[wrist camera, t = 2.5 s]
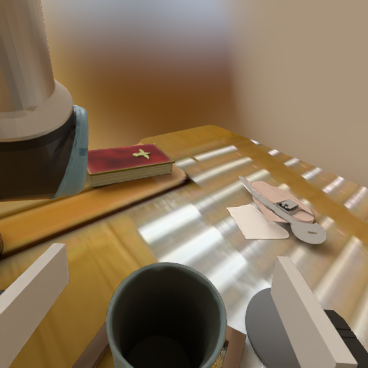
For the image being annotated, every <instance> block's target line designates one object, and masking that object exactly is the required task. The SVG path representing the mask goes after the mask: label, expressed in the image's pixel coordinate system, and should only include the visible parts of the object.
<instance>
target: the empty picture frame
mask: <svg viewBox="0 0 368 368" xmlns="http://www.w3.org/2000/svg"><path fill="white" fill-rule="evenodd" d="M245 340H246V334H243V333H241V332H239V331H237V330H235V329H233V328H231V327H229V326H227V328H226V336H225V342H224V345H225V346H227V349H226V353H225V356H224V360H223V364H222V368H240V363H241V359H242V354H243V349H244V344H245ZM109 347H110V345H109V341H108V338H107V331H106V322H105V323H104V325H103V326H102V327H101V329H100V330H99V331H98V333H97V334H96V335H95V337H94V338H93V339H92V341H91V342H90V344H89V345H88V346H87V348H86V349H85V350H84V352H83V353H82V354H81V356H80V357H79V358H78V360H77V361H76V363H75V364H74V365H73V367H72V368H96V366H97V365H98V363H99V362H100V360H101V359H102V357H103V356H104V354H105V353H106V351H107V350H108V348H109Z"/></svg>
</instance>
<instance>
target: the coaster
mask: <svg viewBox="0 0 368 368" xmlns="http://www.w3.org/2000/svg"><path fill="white" fill-rule="evenodd" d="M270 292H271V288H267V289H264V290H262V291H260V292H258V293H257V294H256V295H255V296H254V297H253V298H252V299H251V301H250V303H249V305H248V307H247V311H246V316H245V323H246V330H247V334H248V337H249V340H250V343H251V345H252V347H253V349H254V351H255V352H256V354H257V356H258V357H259V359H260V360H261V361H262V363H263V364H264V365H265V366H266V367H267V368H301V366H300V364H299V361H298V359H297V357H296V354H295V352H294V349H293V347H292V344H291V342H290V340H289V337H288V335H287V332H286V330H285V328H284V325H283V323H282V320H281V318H280V315H279V313H278V311H277V308H276V306H275V303H274V301H273V298H272V296H271V294H270Z"/></svg>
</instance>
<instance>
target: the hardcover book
mask: <svg viewBox="0 0 368 368" xmlns="http://www.w3.org/2000/svg"><path fill="white" fill-rule="evenodd" d="M87 154H88V163H87V175H86V176H87V178H88V180H89V182H90V184H91V186H92V187H96V186H101V185H107V184H112V183H118V182H123V181H129V180H134V179H140V178H145V177H151V176H156V175H162V174H167V173H171V171H172V163H175V161H174V160H173V159H172V158H170V157H169V156H168V155H167V154H166V153H165V152H164V151H163V150H162V149H160V148H159V147H158V146H157V145H156V144H146V145H136V146H127V147H119V148H109V149H99V150H90V151H87Z"/></svg>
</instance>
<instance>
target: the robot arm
mask: <svg viewBox="0 0 368 368" xmlns="http://www.w3.org/2000/svg"><path fill="white" fill-rule="evenodd" d="M87 151H88V117H87V112H86V110H85V109H84V108H82V107H78V106H76V105H73V100H72V97H71V95H70V93H69V91H68V90H67V89H66V88H65V87H64V86H63V85H62V84H60V83H59V82H57V81H56V80H54V76H53V71H52V64H51V59H50V53H49V47H48V41H47V36H46V30H45V24H44V19H43V12H42V6H41V1H40V0H0V202H6V201H22V200H38V199H55V198H57V197H63V196H71V195H76V194H78V193H79V192H80V191H81V190H82V189H83V188H84V185H85V181H86V175H87V163H88V154H87ZM2 250H3V240H2V237H1V234H0V255H1V253H2ZM69 281H70V279H69V270H68V261H67V252H66V244H57V243H53V244H52V245H51V246H50V247H49V248H48V249H47V250H46V251H45V252H44V253H43V254H42V255H41V256H40V257H39V258H38V259H37V260H36V261H35V262H34V263H33V264H32V265H31V266H30V267H29V268H28V269H27V270H26V271H25V272H24V273H23V274H22V275H21V276H20V277H19V278H18V279H17V280H16V281H15V282H14V283H13V284H12V285H10V286H9V287H8V288H7V289H6V290H5V291H3V290H0V368H9V366H10V365H11V363H12V362H13V361H14V359H15V358H16V356H17V355H18V353H19V352H20V351H21V349H22V348H23V346H24V345H25V344H26V342H27V341H28V339H29V338H30V336H31V335H32V334H33V332H34V331H35V329H36V328H37V327H38V325H39V324H40V322H41V321H42V319H43V318H44V317H45V315H46V314H47V312H48V311H49V310H50V308H51V307H52V305H53V304H54V302H55V301H56V300H57V298H58V297H59V295H60V294H61V293H62V291H63V290H64V288H65V287H66V285H67V284H68V283H69ZM270 294H271V296H272V298H273V301H274V303H275V306H276V308H277V311H278V313H279V315H280V318H281V320H282V323H283V325H284V328H285V330H286V332H287V335H288V337H289V340H290V342H291V344H292V347H293V349H294V352H295V354H296V357H297V359H298V361H299V364H300V366H301V368H368V353H367V351H366V350H365V349H364V347H363V346H362V344H361V343H360V341H359V340H358V339H357V337H356V336H355V334H354V333H353V332H352V331H351V329H350V327H349V326H348V324H347V323H346V322H345V320H344V319H343V318H342V317H341V316H339V315H338V314H337V313H336V312H335V311H334V310H323V309H322V307H321V305H320V304H319V302H318V301H317V299H316V298H315V296H314V295H313V293H312V291H311V290H310V288H309V287H308V285H307V284H306V282H305V280H304V279H303V277H302V276H301V274H300V273H299V271H298V269H297V268H296V266H295V265H294V263H293V262H292V260H291V258H290V257H282V256H277V259H276V264H275V270H274V275H273V281H272V287H271V292H270Z"/></svg>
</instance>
